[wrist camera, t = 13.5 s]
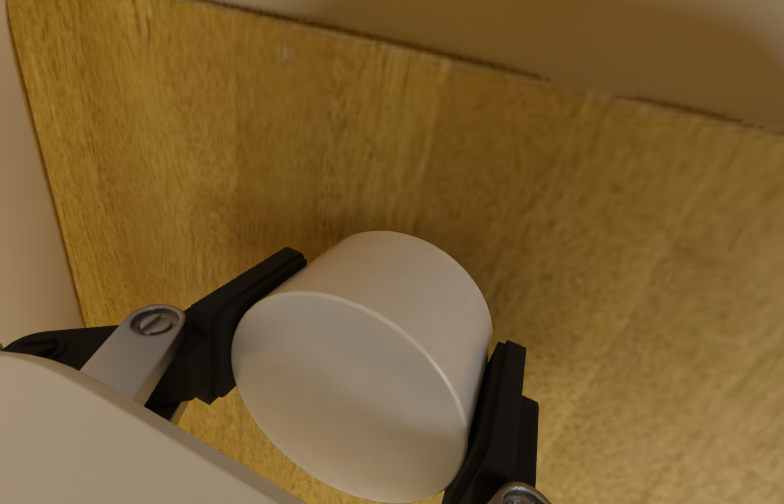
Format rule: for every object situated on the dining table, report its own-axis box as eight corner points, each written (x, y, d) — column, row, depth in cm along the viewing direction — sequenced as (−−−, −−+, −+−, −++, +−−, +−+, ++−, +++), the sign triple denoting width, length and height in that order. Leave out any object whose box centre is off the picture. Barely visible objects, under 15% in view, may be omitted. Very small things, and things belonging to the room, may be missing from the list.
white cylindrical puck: (391, 186, 11) (316, 234, 7) (539, 349, 11) (533, 469, 8) (281, 297, 14) (195, 365, 11) (396, 419, 14) (348, 524, 11)
